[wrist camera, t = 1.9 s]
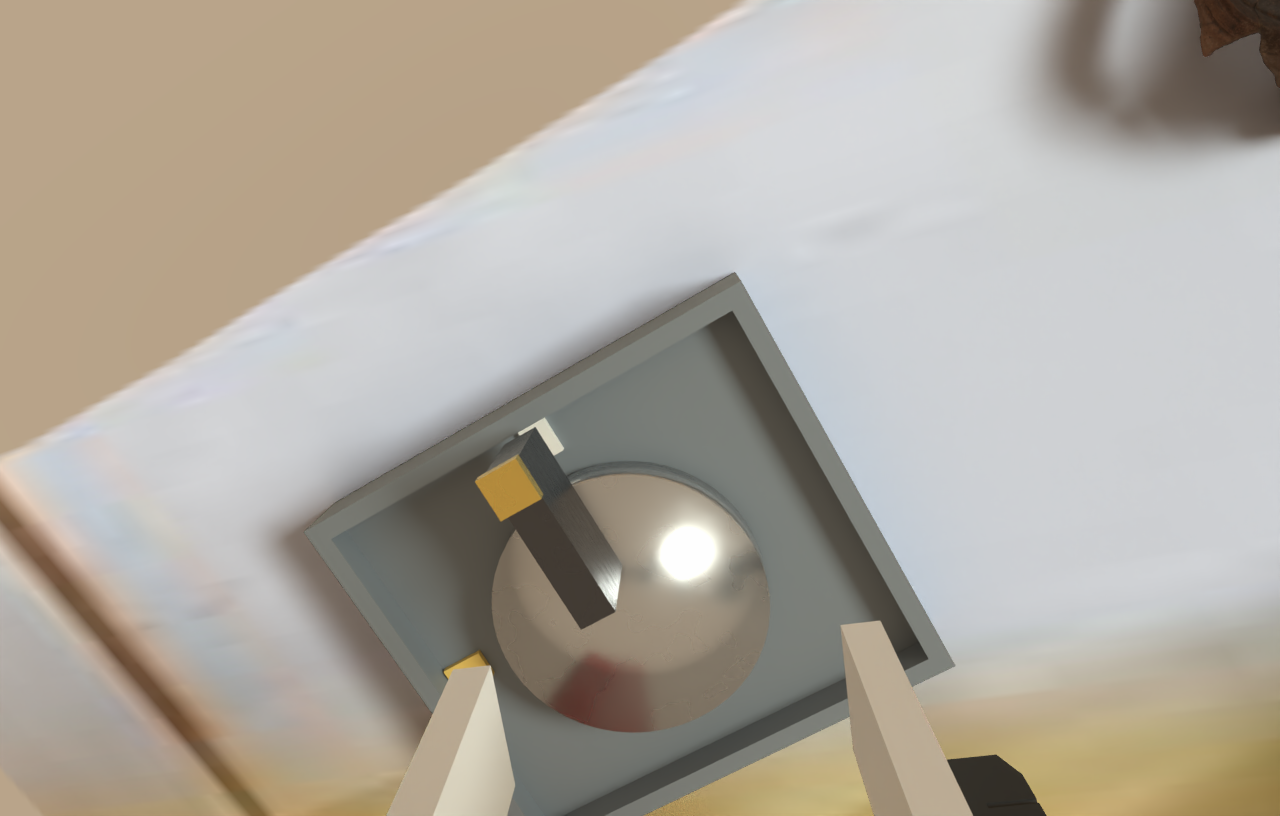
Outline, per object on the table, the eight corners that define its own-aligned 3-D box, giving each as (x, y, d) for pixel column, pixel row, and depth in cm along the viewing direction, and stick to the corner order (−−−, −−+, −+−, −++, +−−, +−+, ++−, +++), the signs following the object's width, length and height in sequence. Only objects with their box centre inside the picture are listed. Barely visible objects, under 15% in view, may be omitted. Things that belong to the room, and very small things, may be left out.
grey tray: (931, 626, 40) (955, 666, 36) (549, 812, 43) (539, 865, 39) (734, 272, 36) (741, 280, 33) (334, 502, 39) (303, 531, 36)
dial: (812, 633, 37) (840, 724, 31) (588, 745, 39) (571, 853, 33) (645, 351, 35) (639, 388, 28) (413, 484, 36) (358, 547, 30)
